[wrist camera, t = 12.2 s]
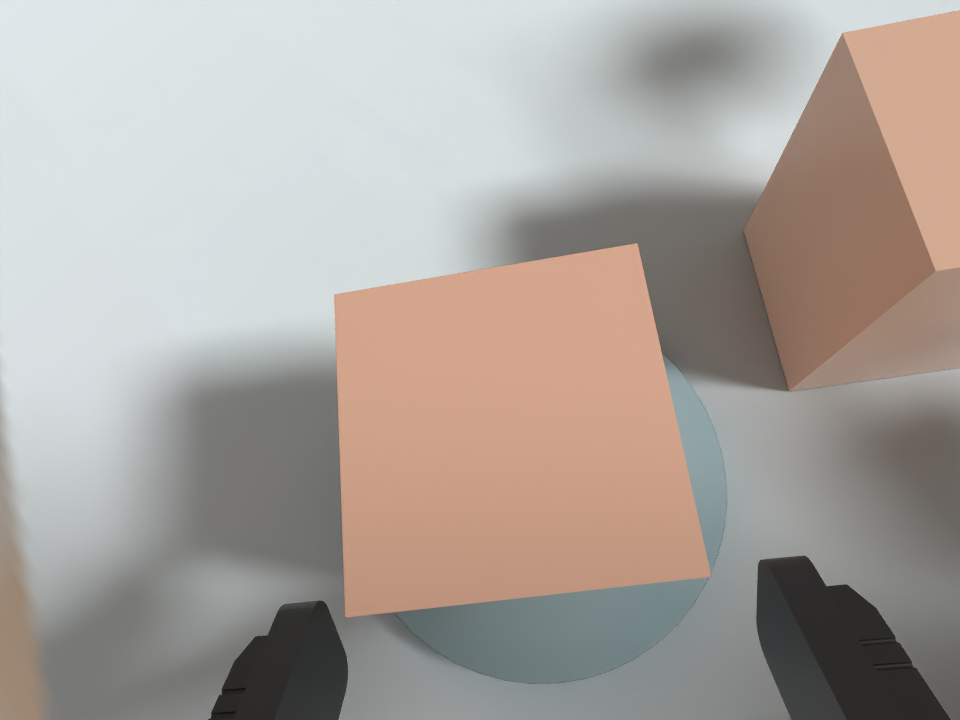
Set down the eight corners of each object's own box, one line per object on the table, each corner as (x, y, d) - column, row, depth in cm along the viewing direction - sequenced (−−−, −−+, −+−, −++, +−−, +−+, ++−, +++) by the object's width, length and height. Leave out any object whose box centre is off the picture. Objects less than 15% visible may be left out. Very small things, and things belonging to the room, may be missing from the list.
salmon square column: (921, 201, 22) (1135, -24, 14) (986, 364, 20) (1286, 217, 12) (743, 231, 23) (842, 33, 14) (788, 391, 21) (935, 271, 12)
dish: (675, 294, 22) (681, 280, 21) (760, 657, 18) (771, 663, 17) (357, 344, 24) (346, 332, 22) (371, 693, 20) (359, 701, 18)
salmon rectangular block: (612, 375, 20) (637, 243, 12) (649, 571, 18) (711, 577, 10) (431, 402, 21) (334, 294, 13) (447, 594, 19) (344, 617, 11)
